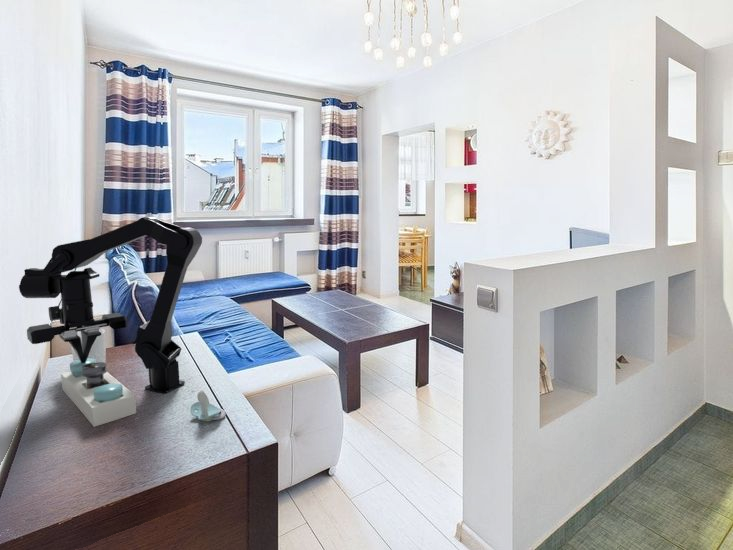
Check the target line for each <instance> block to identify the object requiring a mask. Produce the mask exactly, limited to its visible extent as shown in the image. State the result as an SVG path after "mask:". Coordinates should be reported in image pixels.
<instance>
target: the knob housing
mask: <svg viewBox="0 0 733 550" xmlns="http://www.w3.org/2000/svg"><path fill="white" fill-rule="evenodd" d="M103 376H104V385H107V384H121V385H122V387H123V395H122V396H121V397H119V398H117V399H114V400H111V401H105V402H102V403H100V402H98V401H95V400H94V395H93V391H94V389H96V388H97V387H95V388H91V389H89V388H87V380H86V377H84V376H82V377H77V378H76V373H72V372H71V371H70V370H68V371H65V372H61V373H60V380H61V386H62V387H61V388H62V390H63V392H64V393H65V394H66V396H67V397H68V398H69V399H70V400H71V402H73V403H74V405H75V406H76V407H77V408H78V410H79V411H80V412H81V413H82V414H83V416H84V417H85V418H86V419H87V420H88V422H89V423H90V424H91V425H92V426H93V427H94V428H95V427H98V426H101V425H104V424H107V423H110V422H113V421H117V420H120V419H122V418H125V417H129V416H132V415H136V414H137V404H136V403H137V402H136V394H134V393H133V391H132V392H131V391H130V390H129V389H128V388H127V387H126V386H125V385H123V383H121V382H120V381H119V380H117V379H116V378H115V377H114V376H112V375H111V374H110V373H109V372H108V371H107V372H106V373H104V374H103ZM99 387H100V386H99Z"/></svg>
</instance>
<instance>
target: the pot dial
mask: <svg viewBox="0 0 733 550" xmlns="http://www.w3.org/2000/svg"><path fill="white" fill-rule="evenodd" d="M81 369H82V376H84V377H86V380H87V388H89V389H91V388H95V387H99V386H103V385H104V376H103V374H104V373H106V372H108V370H107V363H103V362H97V363H90V364H87V365H85V366H83V367H82V368H81Z"/></svg>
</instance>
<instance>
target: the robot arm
mask: <svg viewBox="0 0 733 550" xmlns="http://www.w3.org/2000/svg"><path fill="white" fill-rule="evenodd" d="M145 237H148V238H149V237H150V238H151V239H152V240H154V241H156V242H158V243H160V244H162V245H165V246H166V248H165V256H166V266H165V271H164V274H163V278H162V280H161V283H160V287H159V291H158V293H157V297H156V301H155V303H154V306H153V310H152V314H151V317H150V320H148V321H146V322H145V323H143V324H141V325H140V326H139V327H138V328H137V331H136V337H135V340H134V341H133V342H132V345H135V346H134V352H135V353H136V354H137V356H138V357H139V358H140V359H141V361H142V363H143V365H144V367H145V369H147V371H148V381H149V384H147V385H145V386H144V389H145V390H148V391H152V392H156V393H161V394H166V393H168V392H171V390H174V389H176V388H178V387H181V386H182V385H185V383H186V381H185V380H181V379H180V370H179V367H180V366H179V365H180V364H179V360H178V361H177V358H178V357H179V356H180V355H181V351H182V347H180V346H179V345H178V344H177V343H176V342H175V341H174V340H173V339H172V336H173V329H172V320H173V319H172V318H173V316H174V313H175V308H176V307H177V303H178V301H179V300H178V299H179V297H180V293H181V290H182V286H183V284H184V280H185V276H186V274H187V269H188V267H189V266H190V264H191V263H192V261H193V260H194V259H195V257H196V255H197V253H198V251H199V249H200V248H201V245H202V244H203V236H202V235H201V234H200V232H199V231H198V230H197V229H196V228H193V227H189V226H188V227H182V226H179V225H176V224H173V223H170V222H167V221H163V220H161V219H158V218H157V217H155V216H144V217H143V216H142V217H140V218H139V219H138V220H136V221H133V222H130V223H127V224H125V225H123V226H120V227H118V228H115V229H113V230H110V231H108V232H106V233H102V234H100V235H98V236H94V237H92V238H88V239H84V240H83V239H82V240H78V241H73V242H68V243H63V244H59V245H56V246H55V247H54V248H52V252H51V258H50V260H49V261H48V262H47V264H46V265H45V266H44V268H36V267H35V268H34V267H33V268H32V267H30V268H25V269H24V275H23V276H22V277H21V278H20V283H19V285H18V289H19V293H20V295H21V296H23V298H25V299H56V298H57V297H59V296H60V297H61V298H60V300H61V308H60V306H59V305H54V306H49V307H47V308H48V316H49V321H50V322H54V321H59V323H60V324H61V325H60V326H59V325H57V326H51V325H50V324H49V323H44V324H39V325H31V326H29V327H28V328H27V329H26V336H27V340H28V341H29V342H30V343H31V345H38V344H43V343H49V342H52V341H53V340H54V338H55V337H56V336H59V338H60V339H61V340H62V341H63V342H65V343H69V344H70V346H71V345H72V347H73V349H74V350H75V352H76V354H77V356H78V358H79V360H80V362H81V363H85V362H86V360H87V358H88V355H89V352H90V350H91V347H92V345H93V343H94V341H95V340H96V338H97V336H100V335H101V332H99V329H101V328H106V327H109V328H111V329H113V330H119V329H123V328H125V329H126V328H128V327H129V325H128V320H127V317H126V316H125V315H123V314H121V313H119V312H114V313H108V314H107V313H106V314H102V317H101V318H100V319H94V318H95V317H94V310H93V309H94V308H93V307H94V303H93V300H92V297H93V296H92V289H91V281H90V280H92V279H97V278H99V277H101V276H100V275H101V274H100V273H99V272H97V271H95V270H94V269H93V268H92V267H86V266H88V265H90V264H92V263H93V262H94V261H96V260H98V259H99V258H100V257H102V256H103V255H104V254H105V253H107V252H110V251H112V250H115V249H117V248H120V247H122V246H125V245H127V244H130V243H132V242H135V241H137V240H140V239H143V238H145ZM83 267H86V268H84V269H83V270H75V269H78V268H83ZM67 272H68V273H67ZM63 273H67V274H63ZM77 331H81V336H82V345H81V339H80V337H79V336H78V335H77Z"/></svg>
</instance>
